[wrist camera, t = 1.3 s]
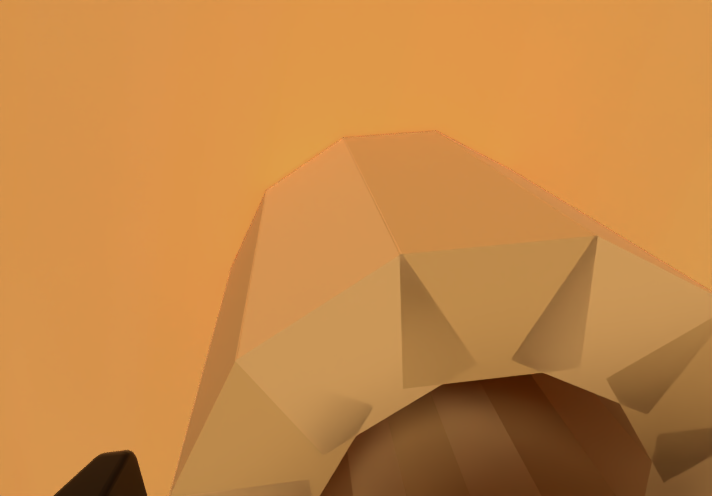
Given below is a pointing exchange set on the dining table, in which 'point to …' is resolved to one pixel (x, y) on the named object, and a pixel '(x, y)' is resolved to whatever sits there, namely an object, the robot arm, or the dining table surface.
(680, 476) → the notched tan hollow cylinder
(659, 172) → the dining table surface
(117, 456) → the robot arm
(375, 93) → the dining table surface
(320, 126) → the dining table surface
